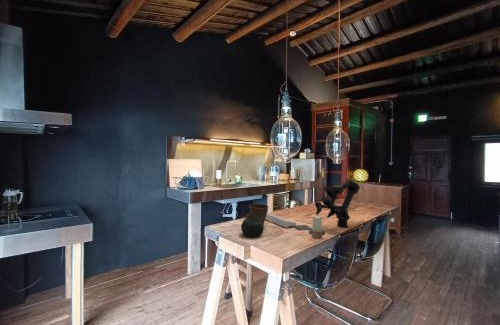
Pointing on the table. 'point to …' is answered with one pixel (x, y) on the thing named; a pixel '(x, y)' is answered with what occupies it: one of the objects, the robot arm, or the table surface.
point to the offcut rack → (312, 232)
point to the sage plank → (317, 223)
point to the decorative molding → (279, 221)
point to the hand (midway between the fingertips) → (321, 216)
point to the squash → (252, 226)
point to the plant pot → (259, 211)
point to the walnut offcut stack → (317, 234)
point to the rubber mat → (302, 227)
